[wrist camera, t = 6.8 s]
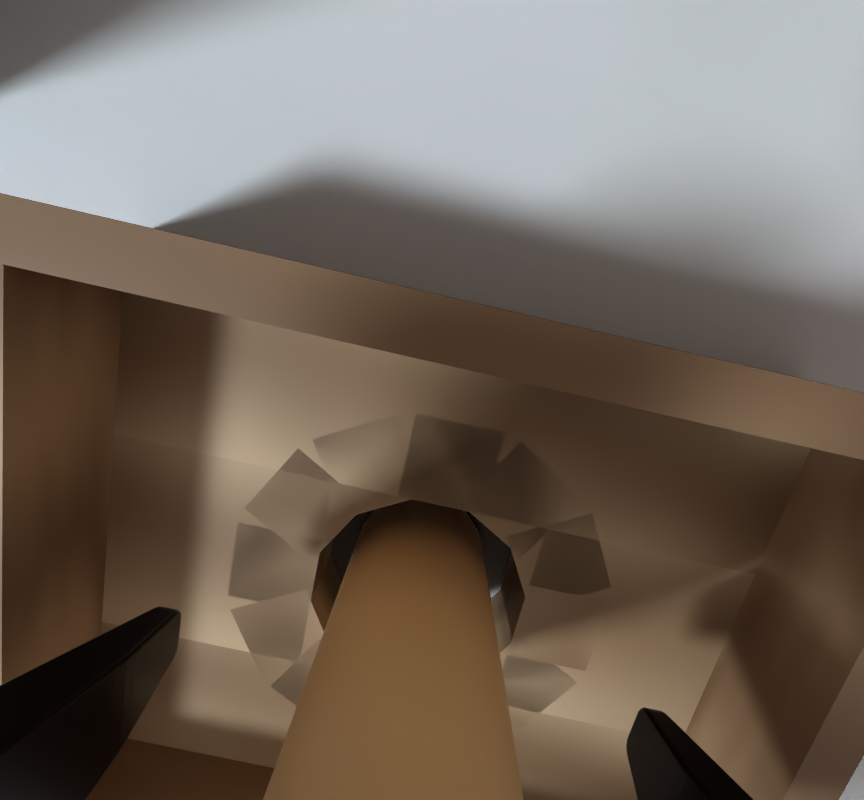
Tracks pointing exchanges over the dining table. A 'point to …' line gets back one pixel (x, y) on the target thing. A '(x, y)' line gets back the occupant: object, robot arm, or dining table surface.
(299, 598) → the crate
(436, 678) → the peg
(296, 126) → the dining table surface
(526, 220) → the dining table surface
